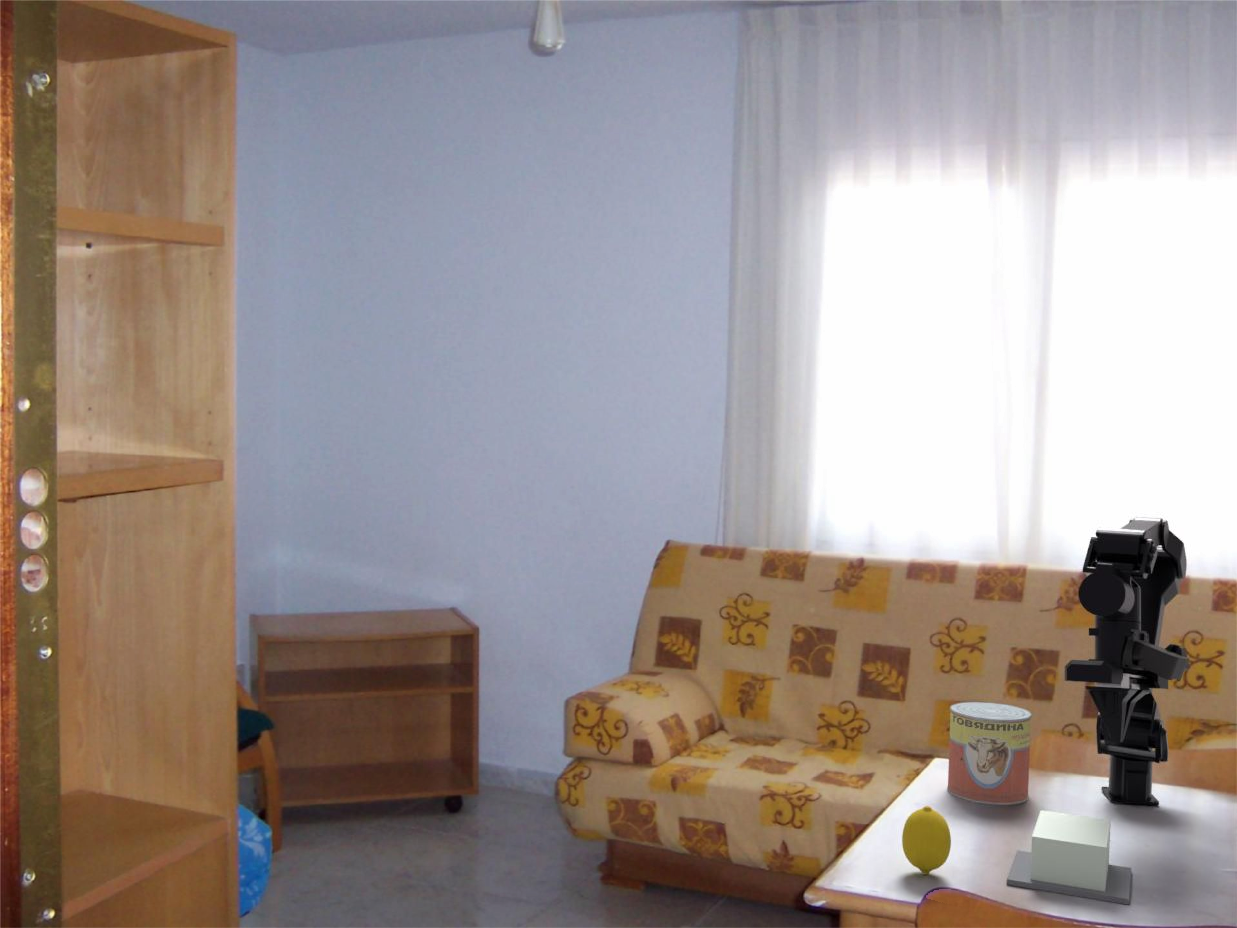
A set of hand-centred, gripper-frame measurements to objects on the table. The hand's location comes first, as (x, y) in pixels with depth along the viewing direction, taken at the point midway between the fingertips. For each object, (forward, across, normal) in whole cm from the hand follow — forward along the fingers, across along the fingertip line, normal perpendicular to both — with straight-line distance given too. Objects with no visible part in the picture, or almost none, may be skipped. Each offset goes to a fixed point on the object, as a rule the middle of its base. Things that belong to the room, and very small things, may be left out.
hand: (1117, 741), depth 163 cm
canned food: (+9, +5, +21) cm, 23 cm away
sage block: (+11, -13, -1) cm, 18 cm away
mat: (+16, -19, -3) cm, 25 cm away
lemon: (+16, -31, +9) cm, 36 cm away
